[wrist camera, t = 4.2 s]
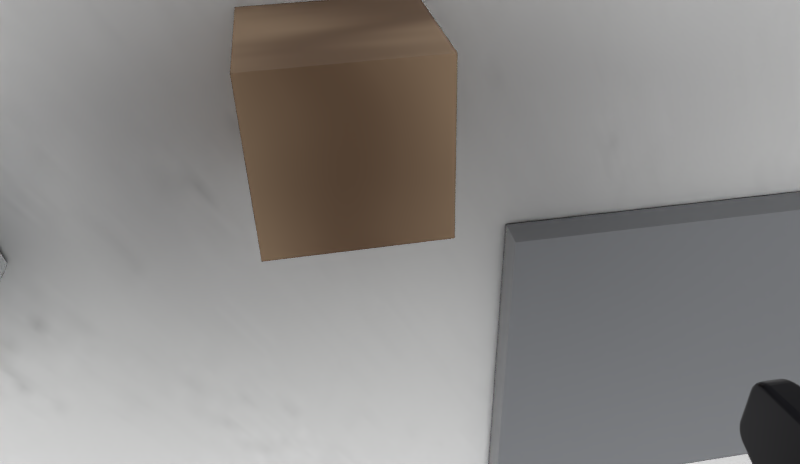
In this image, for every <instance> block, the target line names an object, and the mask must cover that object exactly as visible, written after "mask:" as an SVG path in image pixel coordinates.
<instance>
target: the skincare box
mask: <svg viewBox="0 0 800 464" xmlns="http://www.w3.org/2000/svg"><path fill="white" fill-rule="evenodd" d="M6 266H7V263H6V261H5V259H4V258H3V256H2V255H1V253H0V280H1V278H2V275H3V274H4V272H5V269H6Z"/></svg>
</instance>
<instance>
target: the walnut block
mask: <svg viewBox="0 0 800 464" xmlns="http://www.w3.org/2000/svg"><path fill="white" fill-rule="evenodd" d="M230 76H231V82H232V88H233V94H234V100H235V106H236V112H237V118H238V123H239V129H240V135H241V141H242V147H243V153H244V159H245V165H246V171H247V177H248V183H249V189H250V194H251V200H252V206H253V212H254V218H255V224H256V230H257V236H258V242H259V248H260V254H261V260H262V261H270V260H278V259H287V258H295V257H303V256H311V255H319V254H328V253H336V252H344V251H352V250H360V249H369V248H377V247H385V246H393V245H402V244H410V243H418V242H426V241H434V240H443V239H451V238H455V178H456V114H457V52H456V50H455V49H454V47H453V46H452V44H451V43H450V41H449V40H448V39H447V37H446V36H445V34H444V33H443V31H442V30H441V28H440V27H439V25H438V24H437V23H436V21H435V20H434V18H433V17H432V15H431V14H430V12H429V11H428V9H427V8H426V7H425V5H424V4H423V2H422V1H421V0H321V1H308V2H295V3H282V4H269V5H256V6H243V7H235V10H234V24H233V38H232V52H231V67H230Z"/></svg>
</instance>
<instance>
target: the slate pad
mask: <svg viewBox="0 0 800 464" xmlns="http://www.w3.org/2000/svg"><path fill="white" fill-rule="evenodd" d="M774 379H787V380H790V381H792V382H794V383H796V384H798V385H799V386H800V192H793V193H784V194H775V195H766V196H757V197H748V198H739V199H730V200H722V201H713V202H704V203H695V204H686V205H677V206H668V207H659V208H650V209H641V210H632V211H623V212H614V213H605V214H596V215H587V216H578V217H569V218H561V219H552V220H543V221H534V222H525V223H516V224H507V225H506V231H505V245H504V259H503V273H502V287H501V301H500V314H499V328H498V342H497V356H496V370H495V384H494V398H493V412H492V426H491V439H490V453H489V464H686V463H692V462H699V461H705V460H711V459H717V458H723V457H730V456H736V455H742V454H748V453H747V451H746V449H745V447H744V444H743V442H742V439H741V436H740V429H739V428H740V420H741V417H742V414H743V412H744V409H745V406H746V403H747V400H748V397H749V394H750V391H751V389H752V387H753V386H754V385H755V384H756V383H758V382H761V381H768V380H774Z"/></svg>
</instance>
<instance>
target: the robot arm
mask: <svg viewBox="0 0 800 464" xmlns="http://www.w3.org/2000/svg"><path fill="white" fill-rule="evenodd" d="M739 429H740V436H741V439H742V442H743V444H744V447H745V449H746V451H747V453H748V455H749V457H750V460H751V462H752V464H800V386H799V385H798V384H796V383H794V382H792V381H790V380H787V379H774V380H768V381H761V382H758V383H756V384H755V385H754V386H753V387H752V389H751V391H750V394H749V397H748V400H747V403H746V406H745V409H744V412H743V414H742V417H741V420H740V428H739Z"/></svg>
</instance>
